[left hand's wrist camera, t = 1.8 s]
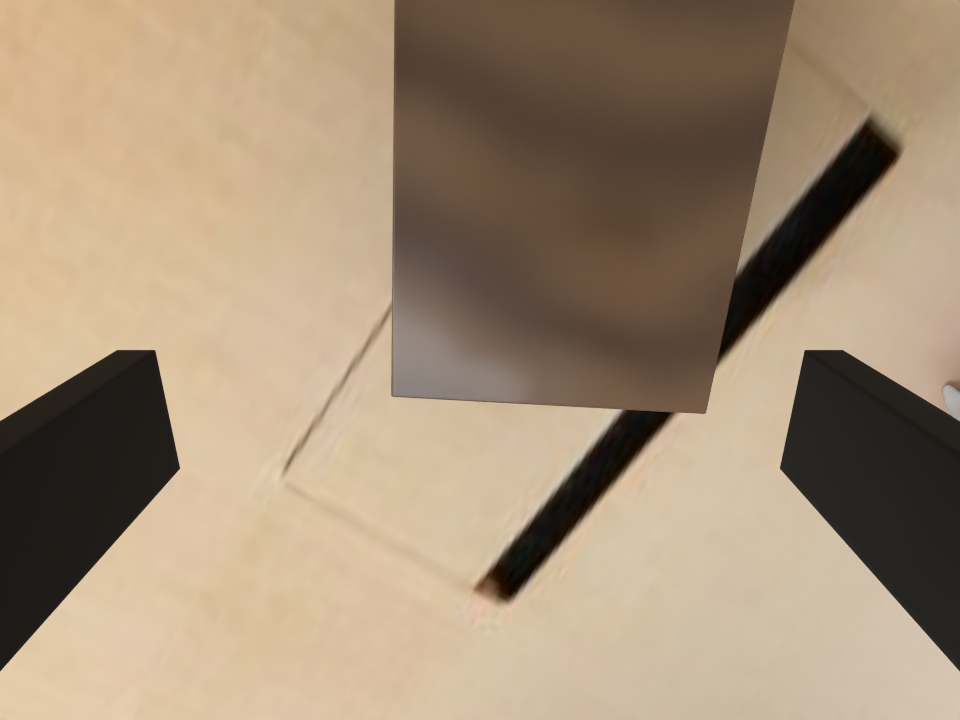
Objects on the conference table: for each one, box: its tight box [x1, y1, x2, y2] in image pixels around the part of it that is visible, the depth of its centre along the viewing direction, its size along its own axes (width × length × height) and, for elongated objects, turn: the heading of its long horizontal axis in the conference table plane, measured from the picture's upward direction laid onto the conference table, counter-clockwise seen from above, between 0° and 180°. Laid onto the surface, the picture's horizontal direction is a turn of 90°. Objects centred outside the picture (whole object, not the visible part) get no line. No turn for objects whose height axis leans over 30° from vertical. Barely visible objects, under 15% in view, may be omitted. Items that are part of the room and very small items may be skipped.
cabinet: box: [391, 0, 794, 414], centre depth 22 cm, size 19×11×10 cm, turn 177°
